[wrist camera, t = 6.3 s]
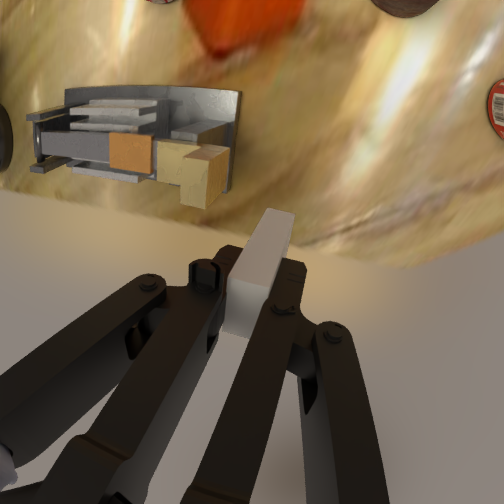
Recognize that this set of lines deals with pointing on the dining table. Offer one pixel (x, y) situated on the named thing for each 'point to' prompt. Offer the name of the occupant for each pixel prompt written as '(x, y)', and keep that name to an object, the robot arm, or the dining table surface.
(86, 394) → the robot arm
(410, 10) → the candle
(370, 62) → the dining table surface
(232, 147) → the heatsink
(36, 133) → the grey flat bar
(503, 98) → the soda can
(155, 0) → the beverage can
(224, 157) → the beige wooden l-shaped block
